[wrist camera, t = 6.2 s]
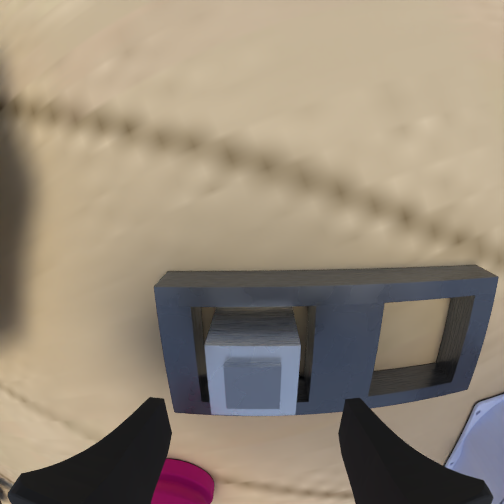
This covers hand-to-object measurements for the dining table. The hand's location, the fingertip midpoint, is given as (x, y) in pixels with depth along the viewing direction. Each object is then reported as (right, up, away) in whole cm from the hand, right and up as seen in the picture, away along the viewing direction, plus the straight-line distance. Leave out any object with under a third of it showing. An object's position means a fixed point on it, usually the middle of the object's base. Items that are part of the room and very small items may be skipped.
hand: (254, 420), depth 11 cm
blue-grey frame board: (+5, +2, +7) cm, 8 cm away
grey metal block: (0, +2, +7) cm, 7 cm away
